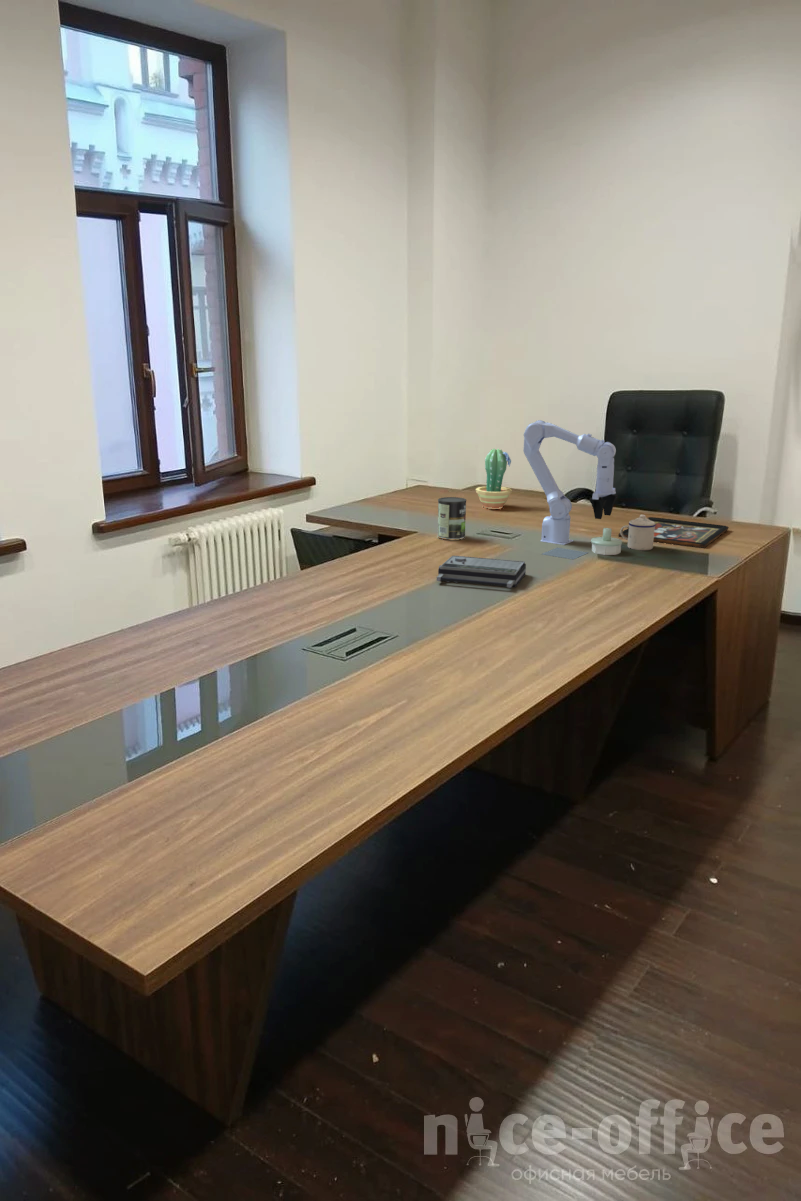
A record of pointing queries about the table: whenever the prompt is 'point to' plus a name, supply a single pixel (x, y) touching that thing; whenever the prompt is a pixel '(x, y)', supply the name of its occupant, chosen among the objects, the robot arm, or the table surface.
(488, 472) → the potted cactus
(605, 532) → the lid
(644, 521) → the teacup with lid
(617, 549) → the bowl
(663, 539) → the framed painting
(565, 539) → the robot arm
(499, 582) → the radio
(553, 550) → the mat
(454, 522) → the coffee can
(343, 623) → the table surface
